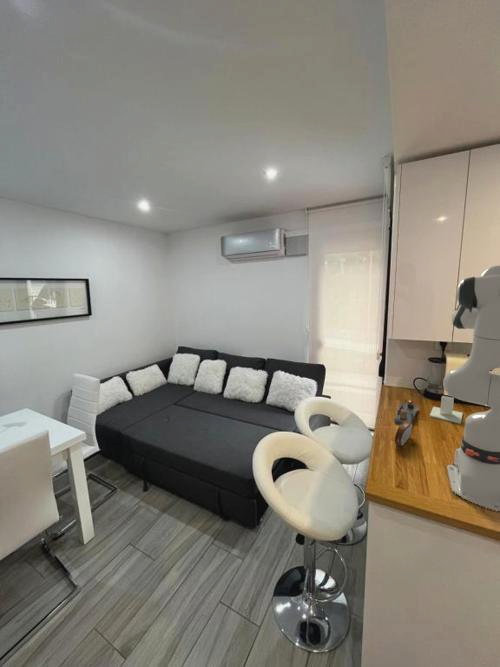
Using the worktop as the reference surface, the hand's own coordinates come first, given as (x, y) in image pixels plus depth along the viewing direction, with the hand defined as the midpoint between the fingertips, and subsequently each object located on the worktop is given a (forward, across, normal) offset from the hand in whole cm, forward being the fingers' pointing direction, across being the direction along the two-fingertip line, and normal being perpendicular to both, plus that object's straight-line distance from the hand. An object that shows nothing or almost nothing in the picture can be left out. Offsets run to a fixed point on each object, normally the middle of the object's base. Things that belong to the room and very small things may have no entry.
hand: (482, 362), depth 129 cm
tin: (+31, +40, -24) cm, 56 cm away
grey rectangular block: (+30, 0, -12) cm, 33 cm away
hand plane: (+31, +13, -28) cm, 44 cm away
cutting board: (+31, 0, -12) cm, 33 cm away
